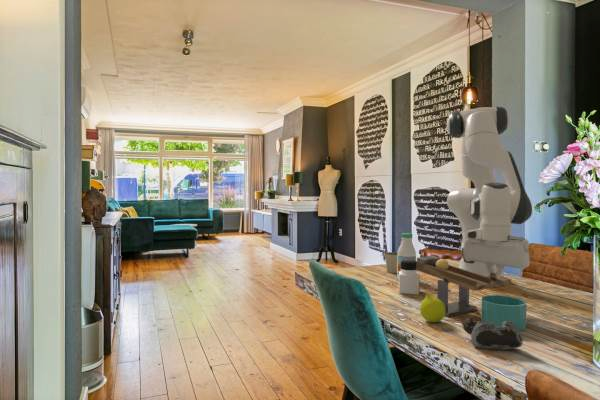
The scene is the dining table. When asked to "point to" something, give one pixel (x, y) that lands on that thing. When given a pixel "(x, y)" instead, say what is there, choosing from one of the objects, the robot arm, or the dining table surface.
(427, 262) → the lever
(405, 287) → the medicine bottle
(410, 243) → the milk bottle
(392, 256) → the flower pot
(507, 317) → the cup
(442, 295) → the lever stand
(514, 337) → the bison figurine
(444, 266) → the ball
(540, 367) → the dining table surface
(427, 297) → the ornament
